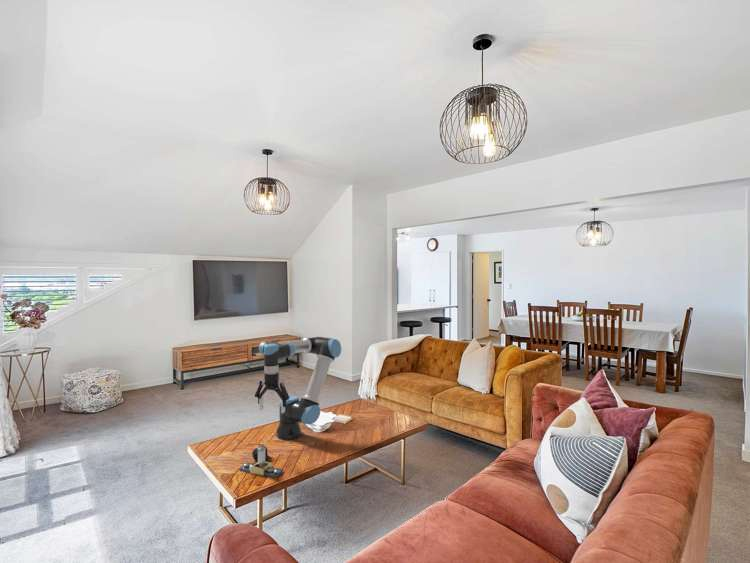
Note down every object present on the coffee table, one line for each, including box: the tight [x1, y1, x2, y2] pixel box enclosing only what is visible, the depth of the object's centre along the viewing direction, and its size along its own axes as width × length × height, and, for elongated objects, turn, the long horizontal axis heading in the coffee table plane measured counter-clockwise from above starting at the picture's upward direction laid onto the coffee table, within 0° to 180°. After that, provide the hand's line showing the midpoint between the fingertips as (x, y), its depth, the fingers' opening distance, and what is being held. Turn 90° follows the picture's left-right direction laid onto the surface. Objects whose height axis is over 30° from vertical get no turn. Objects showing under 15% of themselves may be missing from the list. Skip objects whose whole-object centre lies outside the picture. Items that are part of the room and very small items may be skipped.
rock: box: [252, 444, 269, 463], centre depth 210 cm, size 10×9×6 cm
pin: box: [256, 445, 267, 468], centre depth 196 cm, size 4×4×12 cm
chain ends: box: [239, 461, 284, 479], centre depth 196 cm, size 8×22×3 cm, turn 71°
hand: (272, 411), depth 212 cm, fingers open, 13 cm apart
